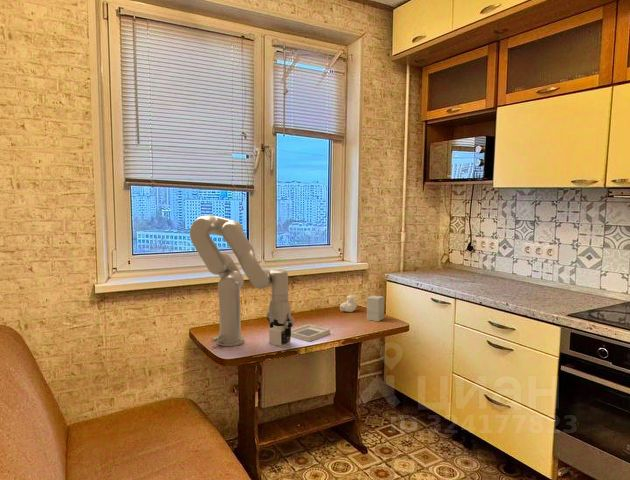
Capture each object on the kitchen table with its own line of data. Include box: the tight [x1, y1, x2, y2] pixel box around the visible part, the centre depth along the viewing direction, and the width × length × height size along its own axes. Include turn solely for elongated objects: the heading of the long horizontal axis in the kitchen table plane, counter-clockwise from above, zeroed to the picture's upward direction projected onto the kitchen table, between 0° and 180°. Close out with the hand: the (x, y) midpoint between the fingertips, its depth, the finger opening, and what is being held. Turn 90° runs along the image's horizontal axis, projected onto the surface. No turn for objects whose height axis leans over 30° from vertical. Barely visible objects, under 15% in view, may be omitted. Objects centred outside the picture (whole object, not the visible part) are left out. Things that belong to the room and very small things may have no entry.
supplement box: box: [366, 294, 385, 322], centre depth 239 cm, size 7×7×13 cm
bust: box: [339, 294, 358, 313], centre depth 256 cm, size 12×8×11 cm
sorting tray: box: [290, 323, 331, 342], centre depth 211 cm, size 16×14×2 cm
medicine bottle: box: [268, 319, 291, 347], centre depth 198 cm, size 7×7×12 cm
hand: (280, 334), depth 198 cm, fingers open, 9 cm apart
